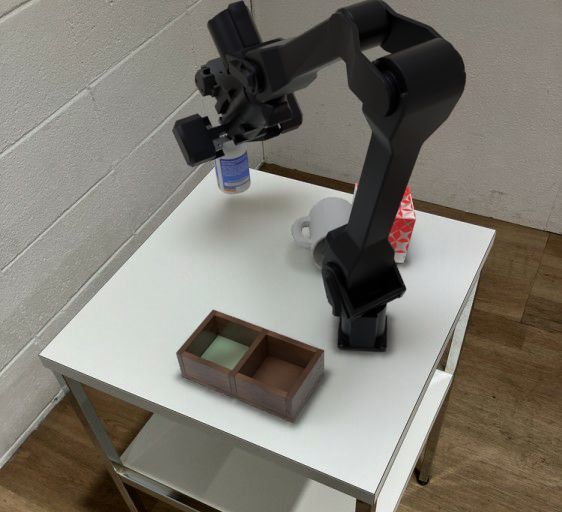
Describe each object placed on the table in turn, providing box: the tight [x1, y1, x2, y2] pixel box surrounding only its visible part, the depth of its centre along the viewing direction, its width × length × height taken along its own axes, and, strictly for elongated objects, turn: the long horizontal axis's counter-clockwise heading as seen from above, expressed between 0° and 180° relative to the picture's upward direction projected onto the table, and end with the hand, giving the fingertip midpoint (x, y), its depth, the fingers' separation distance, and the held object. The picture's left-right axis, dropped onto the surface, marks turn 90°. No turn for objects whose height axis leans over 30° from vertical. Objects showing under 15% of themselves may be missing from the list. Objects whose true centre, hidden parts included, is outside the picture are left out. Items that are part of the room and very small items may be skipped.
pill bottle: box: [213, 134, 252, 195], centre depth 99 cm, size 5×5×10 cm
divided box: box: [175, 309, 325, 423], centre depth 80 cm, size 16×9×5 cm, turn 61°
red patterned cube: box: [351, 182, 417, 264], centre depth 94 cm, size 8×8×8 cm
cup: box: [290, 196, 352, 270], centre depth 94 cm, size 7×10×9 cm
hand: (225, 144), depth 99 cm, fingers closed on pill bottle, 5 cm apart
